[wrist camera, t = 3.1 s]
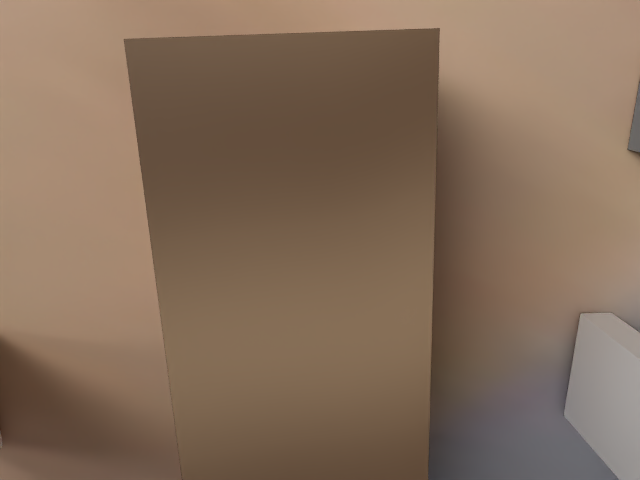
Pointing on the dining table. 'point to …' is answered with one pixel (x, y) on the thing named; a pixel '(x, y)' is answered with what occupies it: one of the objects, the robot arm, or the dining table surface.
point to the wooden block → (293, 247)
